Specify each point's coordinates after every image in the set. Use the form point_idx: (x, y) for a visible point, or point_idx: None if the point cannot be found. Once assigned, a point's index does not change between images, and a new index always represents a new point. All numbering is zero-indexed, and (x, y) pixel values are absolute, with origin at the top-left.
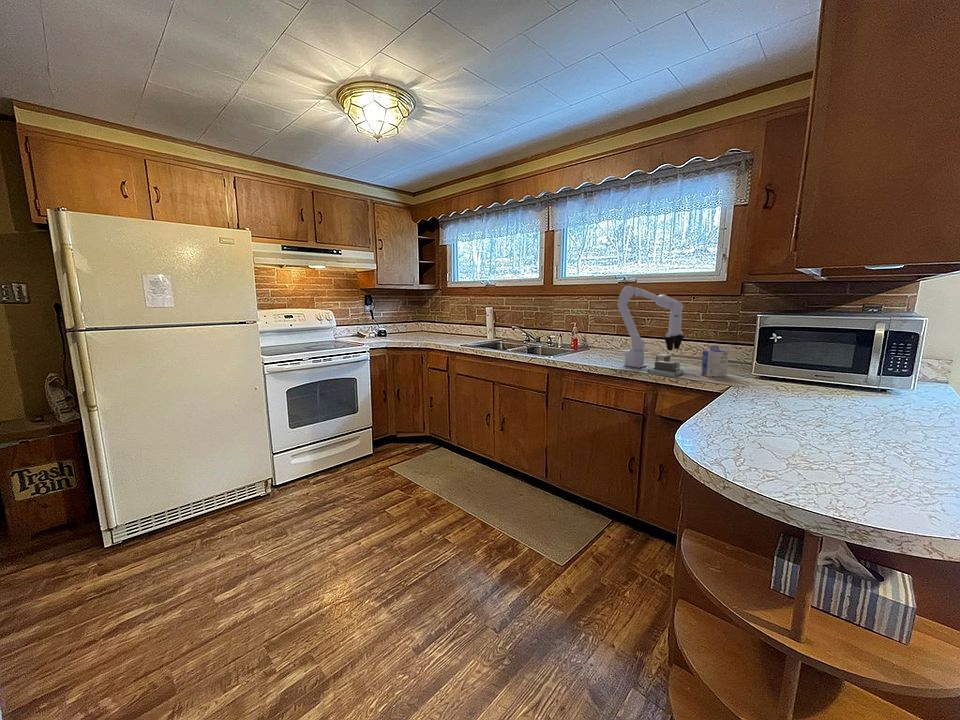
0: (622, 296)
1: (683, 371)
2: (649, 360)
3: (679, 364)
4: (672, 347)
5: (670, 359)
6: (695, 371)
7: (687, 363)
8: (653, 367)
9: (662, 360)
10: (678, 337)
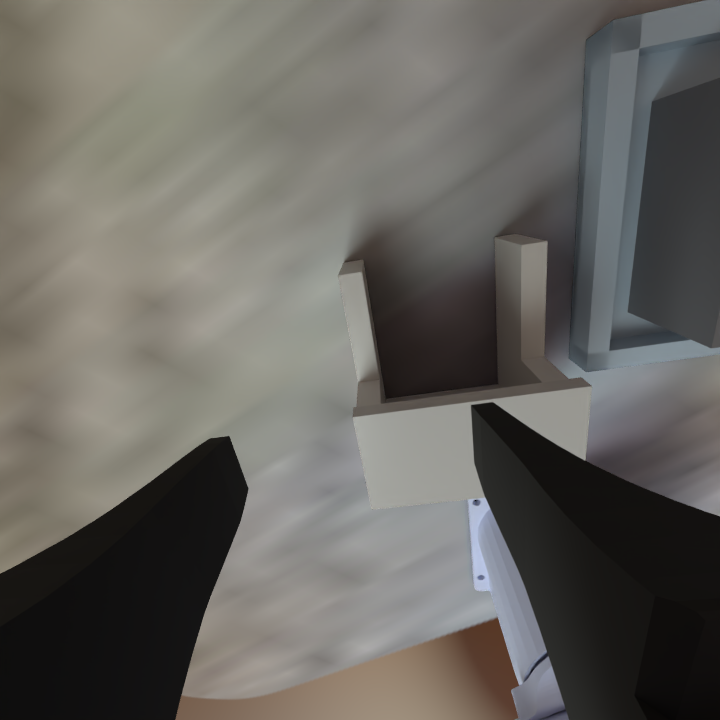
0: None
1: (614, 23)
2: (234, 593)
3: (350, 270)
4: (509, 423)
5: (360, 392)
6: (313, 66)
7: (35, 390)
8: (664, 354)
9: (559, 375)
10: (71, 711)
